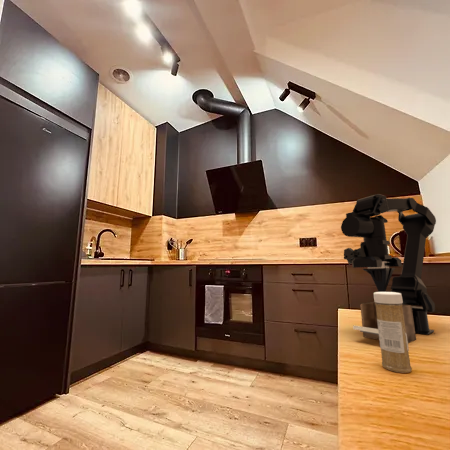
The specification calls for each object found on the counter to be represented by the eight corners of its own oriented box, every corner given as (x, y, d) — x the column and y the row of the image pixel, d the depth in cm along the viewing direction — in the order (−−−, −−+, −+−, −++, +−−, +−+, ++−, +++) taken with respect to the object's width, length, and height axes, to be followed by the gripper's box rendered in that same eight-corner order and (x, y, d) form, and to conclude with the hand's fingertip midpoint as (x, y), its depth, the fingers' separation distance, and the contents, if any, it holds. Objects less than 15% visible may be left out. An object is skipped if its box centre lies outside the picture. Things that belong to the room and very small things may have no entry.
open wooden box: (376, 332, 72) (373, 302, 73) (416, 339, 64) (411, 305, 66) (363, 336, 67) (360, 304, 69) (404, 344, 60) (400, 308, 61)
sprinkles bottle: (416, 370, 44) (405, 292, 47) (405, 376, 42) (394, 293, 44) (388, 362, 48) (380, 291, 50) (376, 367, 45) (368, 292, 48)
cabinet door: (365, 327, 67) (353, 325, 63) (399, 332, 61) (387, 331, 57) (365, 331, 67) (353, 330, 63) (399, 337, 60) (388, 336, 57)
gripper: (360, 242, 83) (366, 290, 81) (331, 239, 72) (336, 294, 69) (398, 238, 75) (406, 291, 72) (372, 234, 64) (380, 297, 61)
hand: (382, 293), depth 69 cm, fingers closed
